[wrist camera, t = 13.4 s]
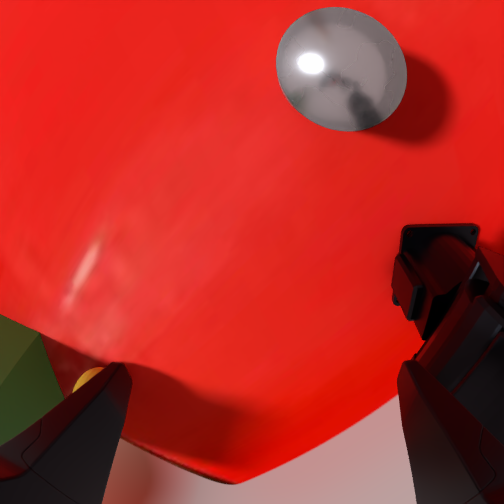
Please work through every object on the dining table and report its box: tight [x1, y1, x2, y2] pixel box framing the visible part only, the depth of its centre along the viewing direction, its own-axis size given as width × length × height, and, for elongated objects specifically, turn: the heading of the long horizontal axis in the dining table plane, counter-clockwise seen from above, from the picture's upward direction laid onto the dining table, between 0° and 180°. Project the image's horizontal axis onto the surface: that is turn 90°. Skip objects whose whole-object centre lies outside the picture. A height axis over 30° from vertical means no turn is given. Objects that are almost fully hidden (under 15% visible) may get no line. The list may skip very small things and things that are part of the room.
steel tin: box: [276, 7, 407, 131], centre depth 14 cm, size 6×6×5 cm
